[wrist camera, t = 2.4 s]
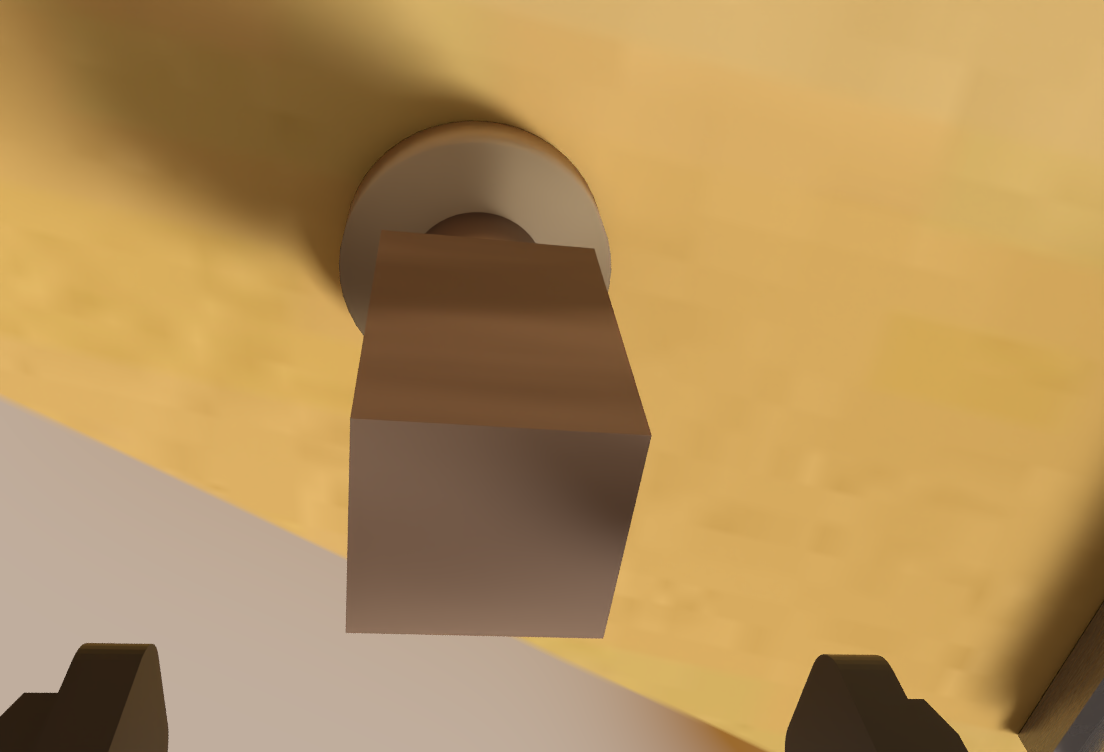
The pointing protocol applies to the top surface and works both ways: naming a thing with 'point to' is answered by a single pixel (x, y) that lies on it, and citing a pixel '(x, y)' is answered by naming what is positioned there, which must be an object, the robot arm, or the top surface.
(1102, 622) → the track
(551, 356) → the headed peg
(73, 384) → the top surface
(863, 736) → the robot arm
